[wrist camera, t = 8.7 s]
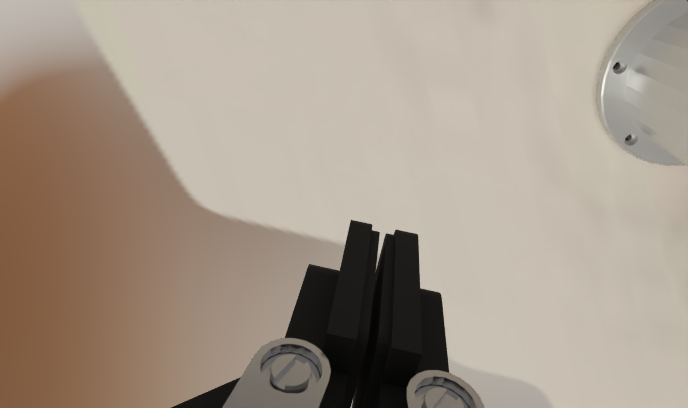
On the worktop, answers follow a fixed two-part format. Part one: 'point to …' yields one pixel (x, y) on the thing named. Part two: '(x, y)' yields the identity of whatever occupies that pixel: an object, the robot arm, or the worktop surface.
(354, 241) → the robot arm
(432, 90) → the worktop surface
